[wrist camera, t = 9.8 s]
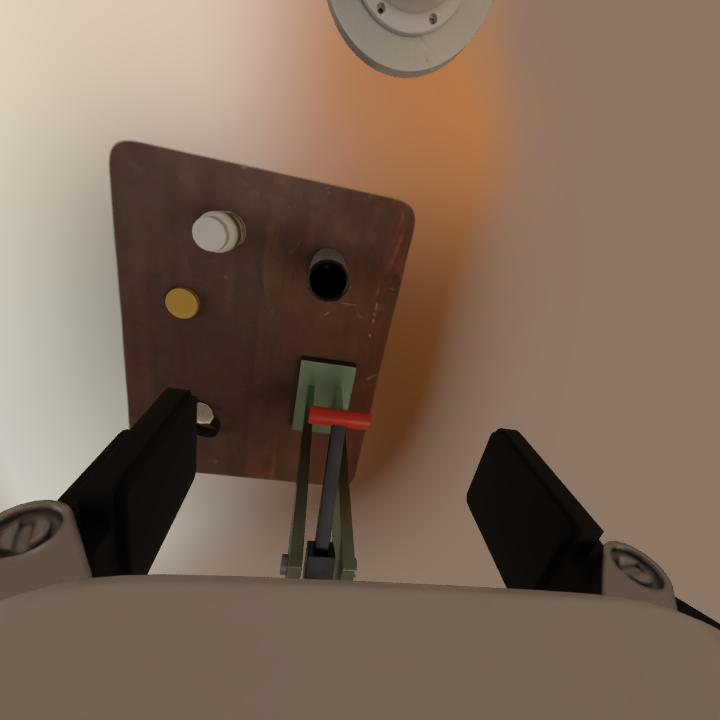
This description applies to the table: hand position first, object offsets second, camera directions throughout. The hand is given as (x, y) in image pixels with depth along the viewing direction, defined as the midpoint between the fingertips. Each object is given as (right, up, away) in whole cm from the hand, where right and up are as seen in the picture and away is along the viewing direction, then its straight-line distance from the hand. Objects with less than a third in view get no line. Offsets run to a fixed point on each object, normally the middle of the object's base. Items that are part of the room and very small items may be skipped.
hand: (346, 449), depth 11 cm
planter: (-4, +15, +35) cm, 39 cm away
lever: (-2, -8, +18) cm, 20 cm away
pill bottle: (-16, +19, +32) cm, 41 cm away
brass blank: (-23, +11, +35) cm, 43 cm away
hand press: (-5, -3, +43) cm, 43 cm away
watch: (-24, -5, +42) cm, 49 cm away
